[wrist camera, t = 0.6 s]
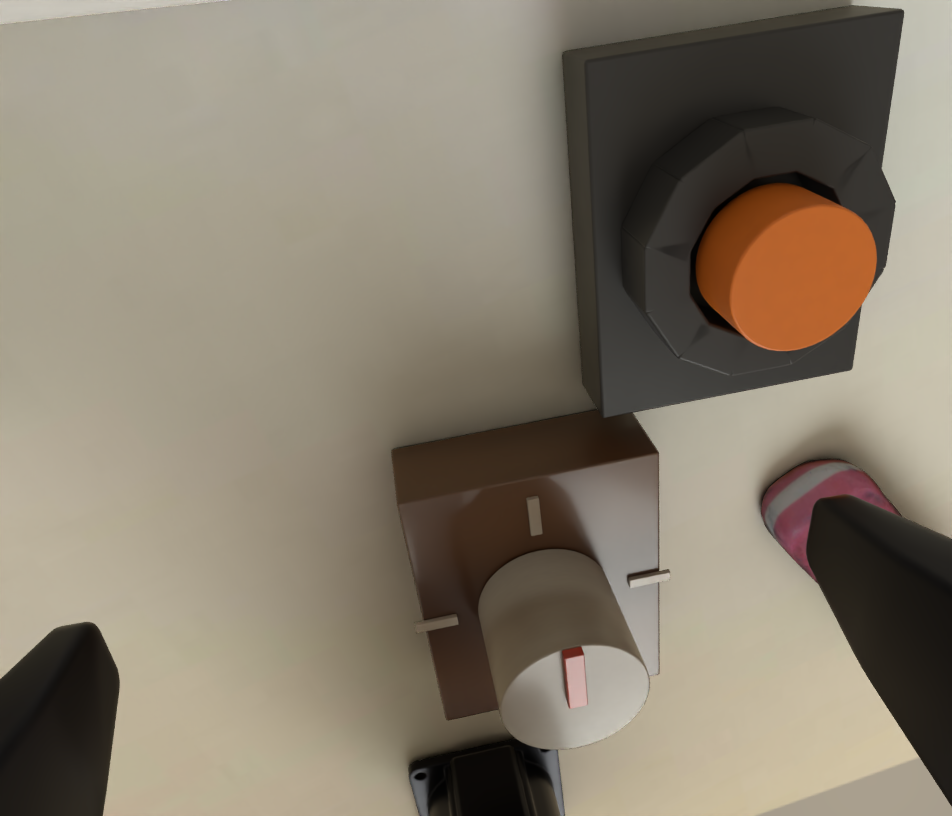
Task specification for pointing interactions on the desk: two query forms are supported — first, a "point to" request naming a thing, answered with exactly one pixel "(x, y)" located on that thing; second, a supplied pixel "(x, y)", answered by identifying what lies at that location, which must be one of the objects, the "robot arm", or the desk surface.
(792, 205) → the button
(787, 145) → the orange button panel
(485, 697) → the dial panel
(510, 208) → the desk surface
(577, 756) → the desk surface
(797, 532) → the eraser
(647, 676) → the dial
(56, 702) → the robot arm
